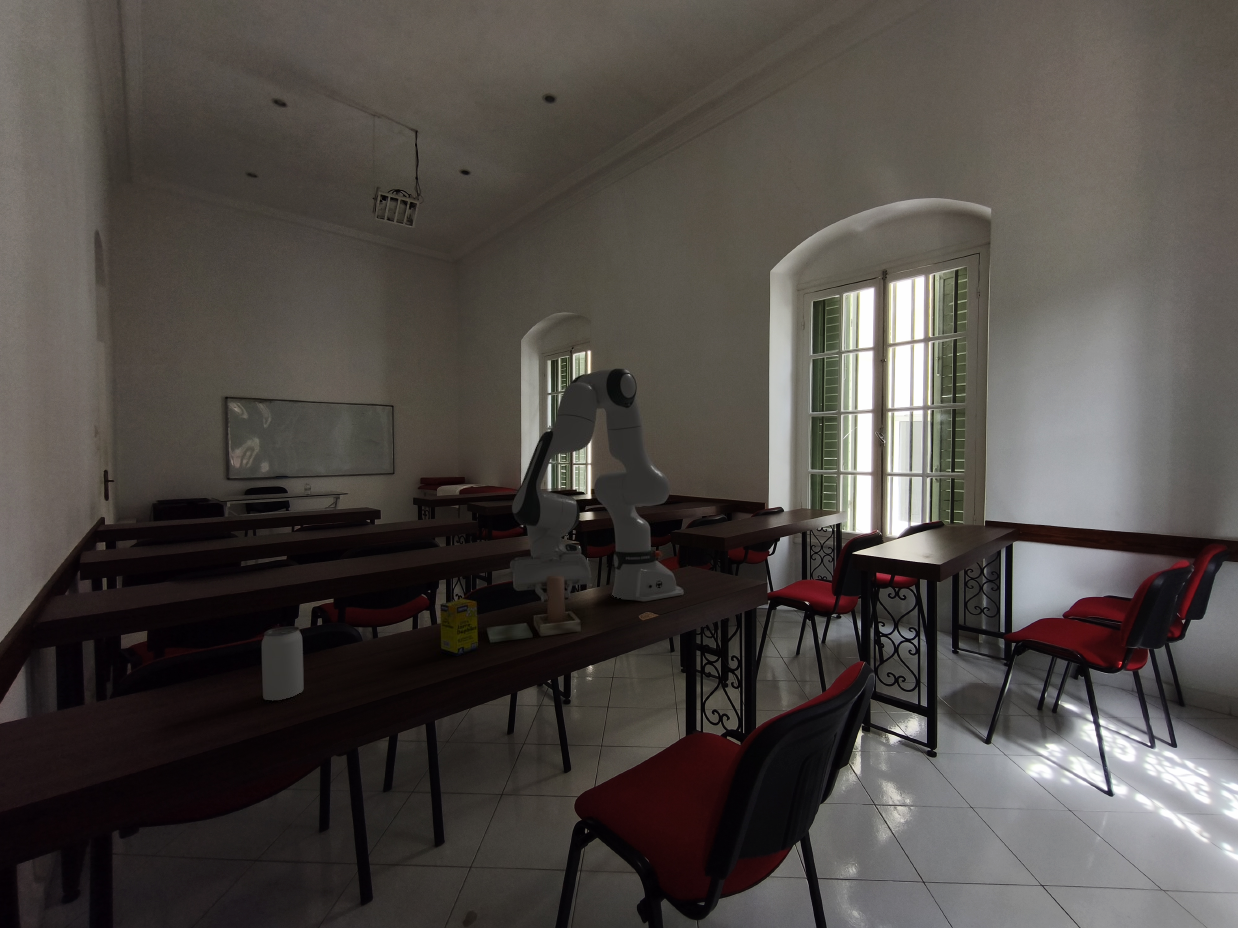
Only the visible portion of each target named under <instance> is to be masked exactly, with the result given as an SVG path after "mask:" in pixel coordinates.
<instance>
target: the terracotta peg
mask: <svg viewBox="0 0 1238 928" xmlns="http://www.w3.org/2000/svg"><path fill="white" fill-rule="evenodd" d="M564 591H565V586H564V576H561V575H554V576H548V577H547V588H546V593H547V594H548V602H546V604H547V614H548V624H551V623H559V622H565V612H566V600H565V592H564Z"/></svg>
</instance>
